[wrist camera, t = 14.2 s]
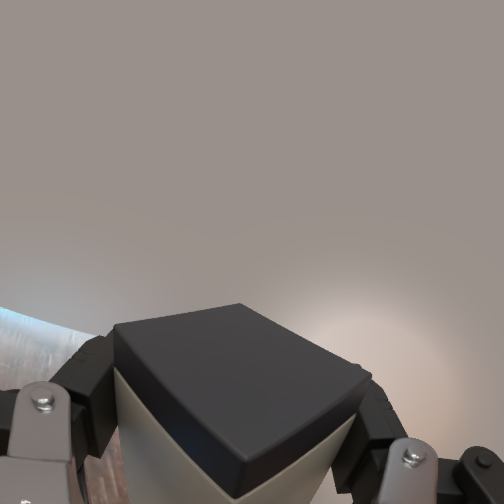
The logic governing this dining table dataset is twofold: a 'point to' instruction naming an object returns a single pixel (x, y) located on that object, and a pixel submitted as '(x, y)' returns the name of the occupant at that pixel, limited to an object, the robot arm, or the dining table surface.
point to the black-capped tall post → (228, 408)
